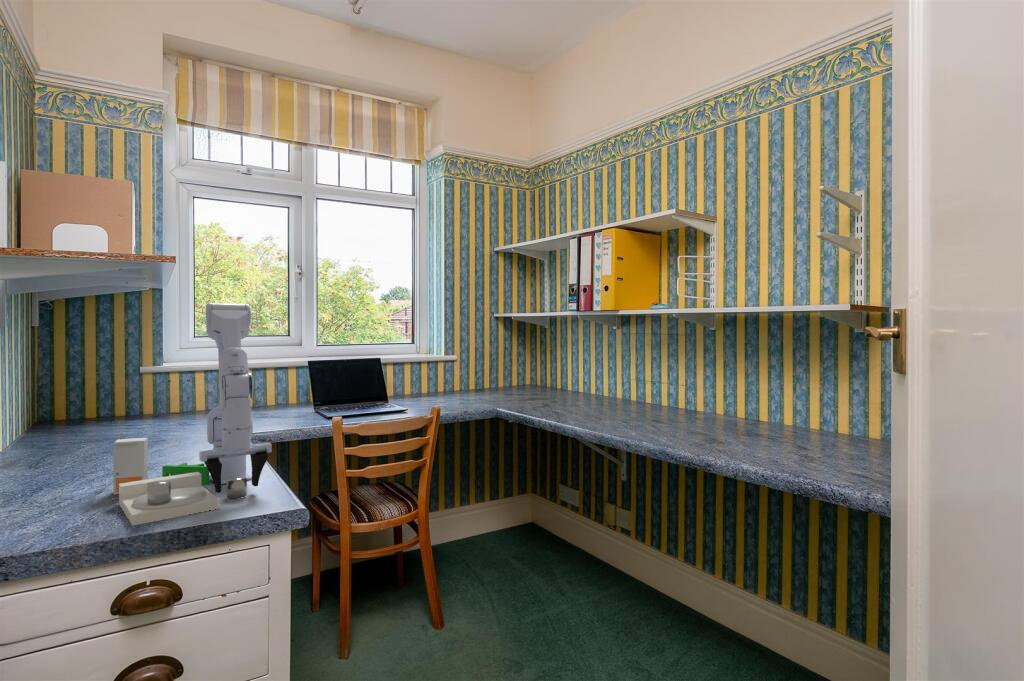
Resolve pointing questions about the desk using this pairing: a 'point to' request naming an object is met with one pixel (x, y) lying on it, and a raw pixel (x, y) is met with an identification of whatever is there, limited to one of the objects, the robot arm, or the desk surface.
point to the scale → (184, 501)
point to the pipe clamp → (187, 471)
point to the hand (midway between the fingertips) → (236, 488)
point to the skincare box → (130, 461)
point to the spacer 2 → (236, 487)
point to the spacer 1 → (159, 492)
